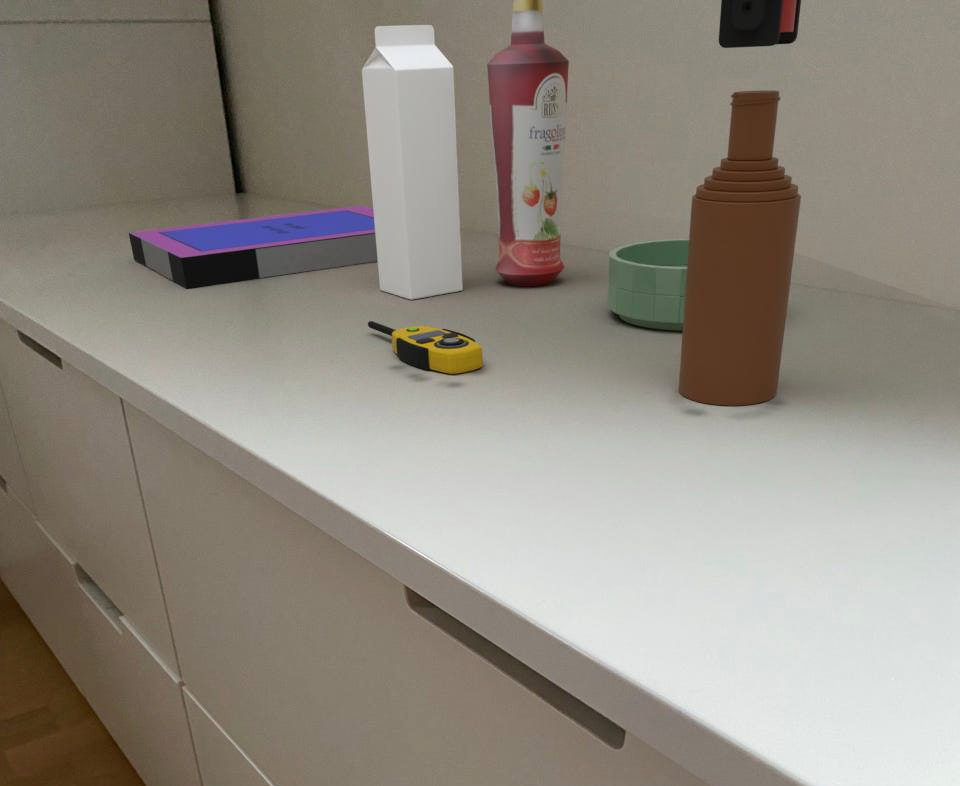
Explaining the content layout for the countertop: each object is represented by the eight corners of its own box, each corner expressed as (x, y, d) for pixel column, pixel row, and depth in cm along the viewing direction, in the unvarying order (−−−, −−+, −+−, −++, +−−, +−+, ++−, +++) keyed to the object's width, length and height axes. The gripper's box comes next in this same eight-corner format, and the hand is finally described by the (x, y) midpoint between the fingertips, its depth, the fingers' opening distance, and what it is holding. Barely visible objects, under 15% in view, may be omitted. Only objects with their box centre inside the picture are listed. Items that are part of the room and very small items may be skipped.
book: (128, 232, 115) (360, 205, 127) (134, 259, 116) (363, 230, 129) (180, 257, 99) (439, 224, 112) (186, 288, 101) (440, 252, 114)
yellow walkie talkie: (439, 352, 69) (341, 314, 80) (441, 379, 70) (344, 338, 81) (495, 340, 72) (393, 305, 82) (496, 366, 73) (394, 328, 83)
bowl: (724, 292, 91) (729, 234, 88) (793, 325, 80) (801, 260, 77) (587, 304, 89) (589, 245, 86) (638, 339, 77) (641, 273, 75)
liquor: (527, 293, 93) (523, -69, 79) (478, 282, 98) (465, -60, 84) (582, 280, 97) (588, -66, 83) (532, 271, 102) (529, -58, 88)
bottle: (748, 372, 69) (779, 87, 60) (794, 399, 64) (836, 90, 54) (663, 382, 68) (681, 92, 59) (703, 410, 62) (730, 96, 53)
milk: (379, 291, 97) (355, 27, 85) (431, 282, 99) (414, 26, 88) (411, 300, 92) (390, 24, 81) (464, 290, 95) (452, 22, 84)
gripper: (761, -349, 53) (730, 44, 63) (665, -457, 41) (646, 53, 51) (907, -379, 50) (852, 39, 60) (853, -506, 38) (794, 47, 48)
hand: (758, 41), depth 55 cm, fingers closed on cap, 3 cm apart
